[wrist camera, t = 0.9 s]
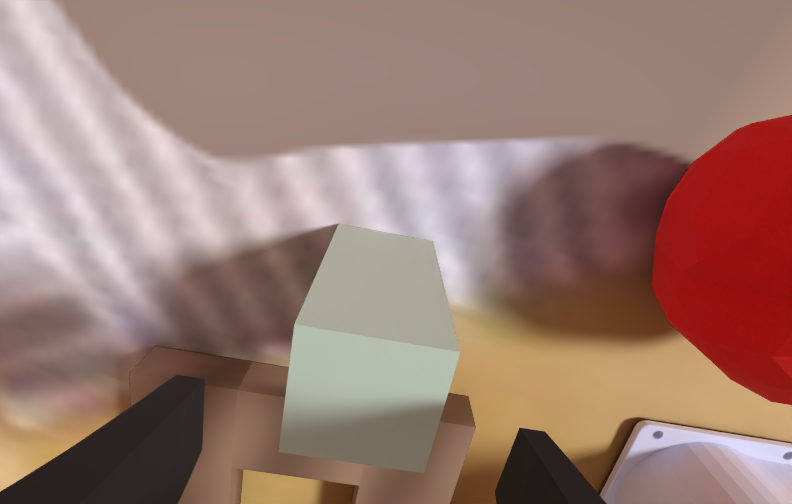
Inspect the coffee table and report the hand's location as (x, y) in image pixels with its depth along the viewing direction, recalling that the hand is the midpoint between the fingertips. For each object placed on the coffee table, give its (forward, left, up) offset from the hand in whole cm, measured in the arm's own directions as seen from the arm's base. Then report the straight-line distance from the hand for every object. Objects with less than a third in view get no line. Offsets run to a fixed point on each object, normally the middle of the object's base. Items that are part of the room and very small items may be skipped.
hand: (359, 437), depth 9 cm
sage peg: (0, 0, -9) cm, 9 cm away
